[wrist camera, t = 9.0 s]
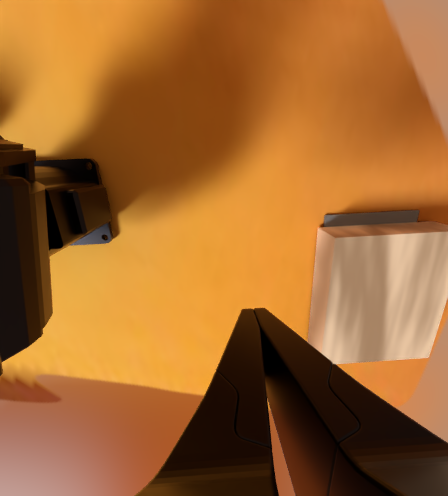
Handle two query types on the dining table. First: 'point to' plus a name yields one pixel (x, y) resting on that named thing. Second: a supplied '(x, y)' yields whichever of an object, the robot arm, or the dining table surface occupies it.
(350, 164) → the dining table surface
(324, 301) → the beige streaked flat block
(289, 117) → the dining table surface
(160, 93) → the dining table surface
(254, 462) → the robot arm
